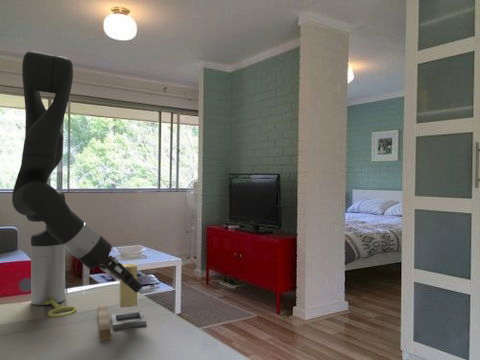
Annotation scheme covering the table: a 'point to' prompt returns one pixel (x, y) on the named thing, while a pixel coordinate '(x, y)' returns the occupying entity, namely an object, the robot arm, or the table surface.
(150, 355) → the table surface
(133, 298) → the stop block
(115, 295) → the table surface
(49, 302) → the key
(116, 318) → the keeper
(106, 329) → the brown square bar
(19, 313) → the table surface
